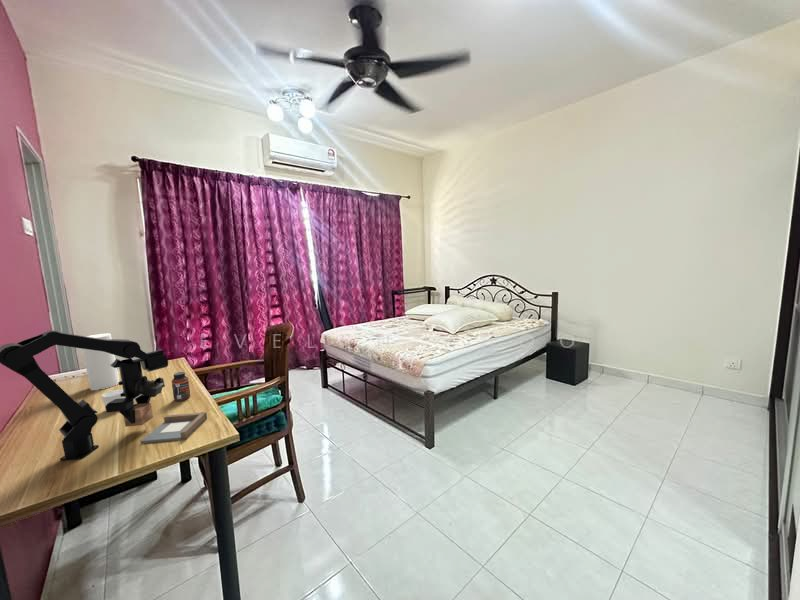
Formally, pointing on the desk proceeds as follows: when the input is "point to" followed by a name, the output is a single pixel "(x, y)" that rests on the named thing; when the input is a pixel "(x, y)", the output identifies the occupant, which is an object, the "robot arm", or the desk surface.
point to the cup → (112, 396)
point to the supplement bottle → (180, 387)
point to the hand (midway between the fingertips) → (139, 418)
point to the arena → (176, 427)
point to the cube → (141, 415)
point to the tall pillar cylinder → (100, 366)
